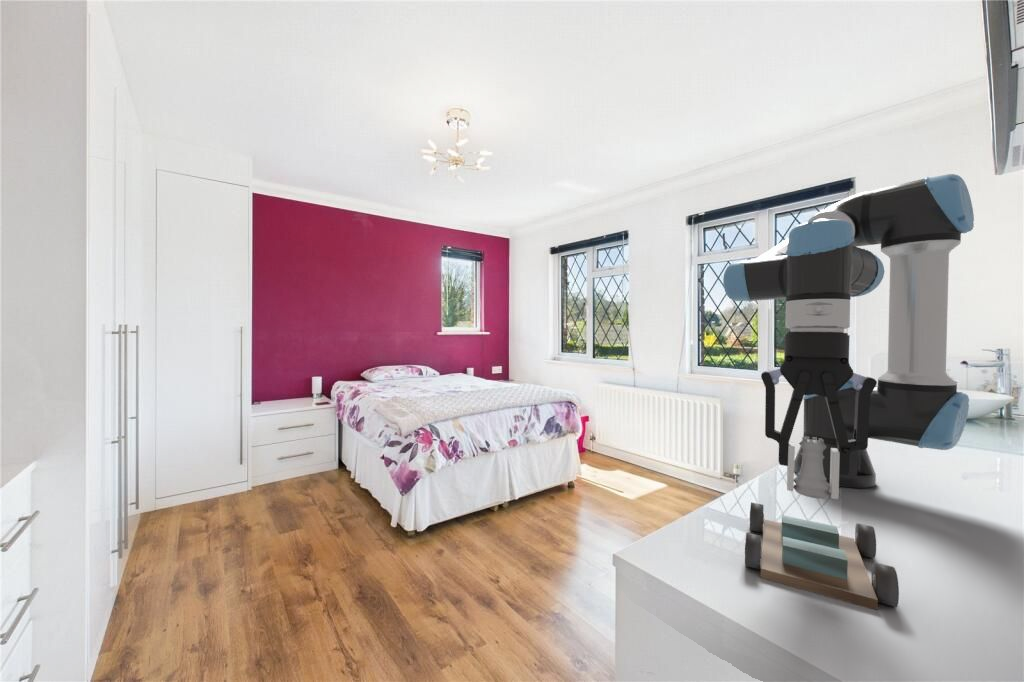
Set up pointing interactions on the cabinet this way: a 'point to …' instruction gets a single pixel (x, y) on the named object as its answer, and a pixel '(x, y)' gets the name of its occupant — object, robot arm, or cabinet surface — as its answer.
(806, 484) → the rook chess piece
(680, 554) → the cabinet surface
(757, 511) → the chassis
